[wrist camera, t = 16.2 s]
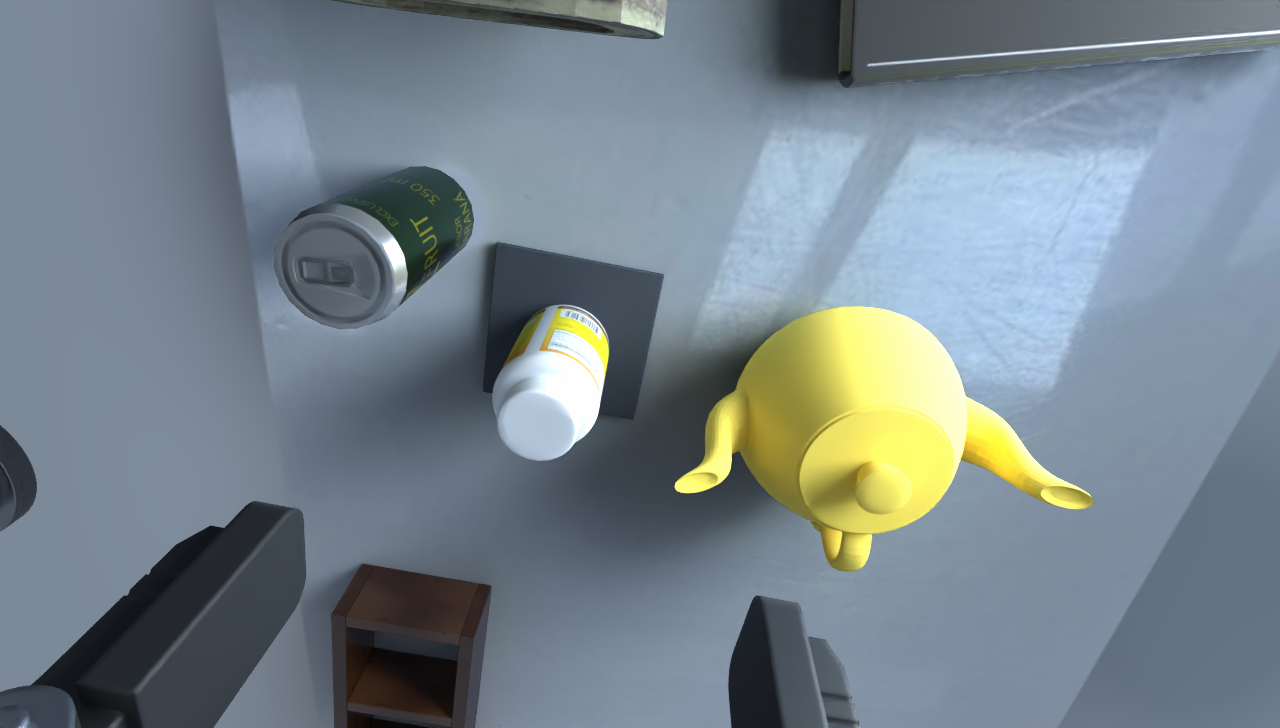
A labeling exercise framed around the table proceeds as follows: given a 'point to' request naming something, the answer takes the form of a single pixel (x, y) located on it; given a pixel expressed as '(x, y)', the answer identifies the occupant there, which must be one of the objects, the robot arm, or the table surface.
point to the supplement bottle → (551, 383)
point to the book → (1037, 35)
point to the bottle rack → (400, 678)
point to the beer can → (372, 246)
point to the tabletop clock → (549, 13)
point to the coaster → (590, 285)
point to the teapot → (861, 429)
